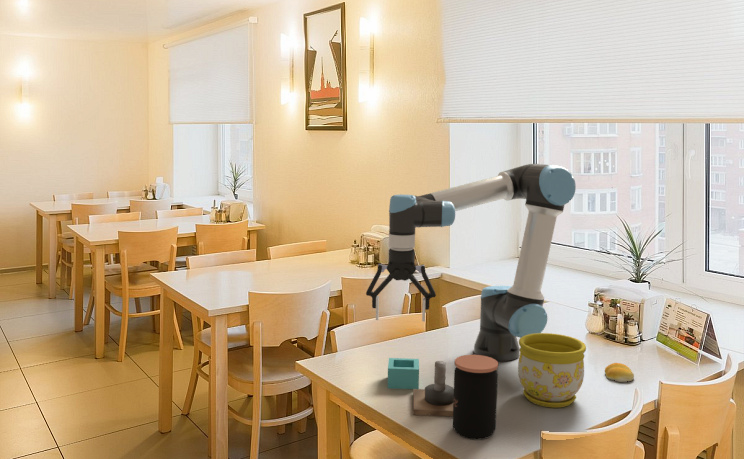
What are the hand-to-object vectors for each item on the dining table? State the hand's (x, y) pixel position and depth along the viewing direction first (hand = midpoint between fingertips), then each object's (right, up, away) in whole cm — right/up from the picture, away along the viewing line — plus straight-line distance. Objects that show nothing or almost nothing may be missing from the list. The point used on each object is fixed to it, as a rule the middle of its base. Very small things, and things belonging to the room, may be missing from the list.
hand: (400, 319), depth 194 cm
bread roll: (+67, -19, +9) cm, 71 cm away
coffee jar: (+17, -24, -29) cm, 41 cm away
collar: (+1, -19, +2) cm, 19 cm away
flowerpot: (+41, -21, -8) cm, 47 cm away
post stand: (+10, -21, -14) cm, 27 cm away
